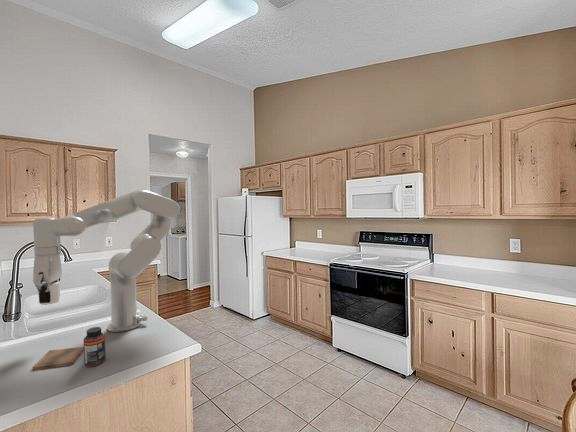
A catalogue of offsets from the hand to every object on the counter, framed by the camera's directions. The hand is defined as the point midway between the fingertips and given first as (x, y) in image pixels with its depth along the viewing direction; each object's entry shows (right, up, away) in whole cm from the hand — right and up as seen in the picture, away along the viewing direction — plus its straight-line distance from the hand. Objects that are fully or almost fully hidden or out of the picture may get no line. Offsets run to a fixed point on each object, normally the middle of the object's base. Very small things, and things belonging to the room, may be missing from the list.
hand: (50, 299), depth 110 cm
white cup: (0, -1, 0) cm, 1 cm away
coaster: (+11, -18, -9) cm, 23 cm away
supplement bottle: (+24, -18, -11) cm, 32 cm away
